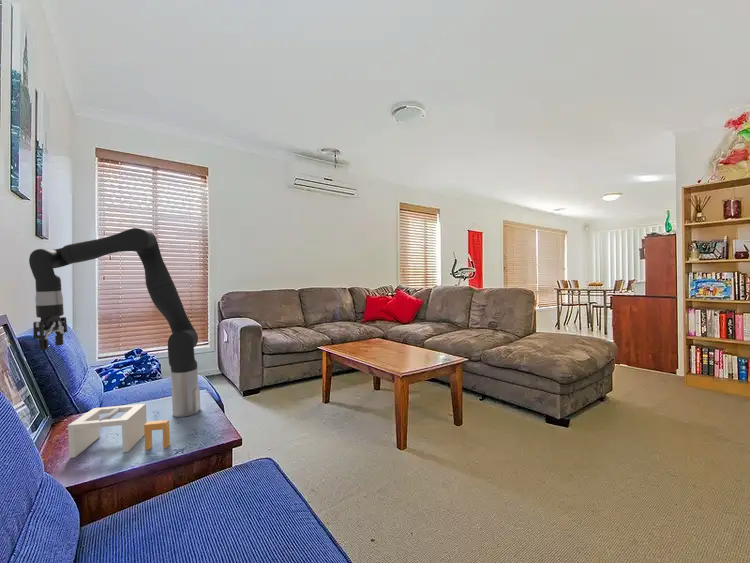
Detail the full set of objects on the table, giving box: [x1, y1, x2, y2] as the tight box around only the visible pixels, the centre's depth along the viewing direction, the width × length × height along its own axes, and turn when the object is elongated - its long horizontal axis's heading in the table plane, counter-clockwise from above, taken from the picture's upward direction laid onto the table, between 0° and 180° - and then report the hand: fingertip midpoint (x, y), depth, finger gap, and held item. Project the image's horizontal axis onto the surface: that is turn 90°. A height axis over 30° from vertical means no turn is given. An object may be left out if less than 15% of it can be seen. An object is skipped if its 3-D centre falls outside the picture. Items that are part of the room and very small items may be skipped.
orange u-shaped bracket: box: [143, 419, 171, 451], centre depth 116 cm, size 6×2×8 cm, turn 101°
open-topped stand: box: [67, 403, 148, 459], centre depth 118 cm, size 16×14×10 cm
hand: (52, 347), depth 134 cm, fingers open, 8 cm apart
